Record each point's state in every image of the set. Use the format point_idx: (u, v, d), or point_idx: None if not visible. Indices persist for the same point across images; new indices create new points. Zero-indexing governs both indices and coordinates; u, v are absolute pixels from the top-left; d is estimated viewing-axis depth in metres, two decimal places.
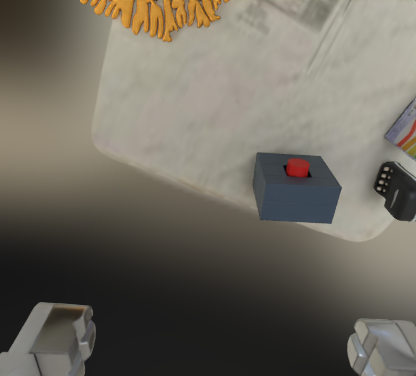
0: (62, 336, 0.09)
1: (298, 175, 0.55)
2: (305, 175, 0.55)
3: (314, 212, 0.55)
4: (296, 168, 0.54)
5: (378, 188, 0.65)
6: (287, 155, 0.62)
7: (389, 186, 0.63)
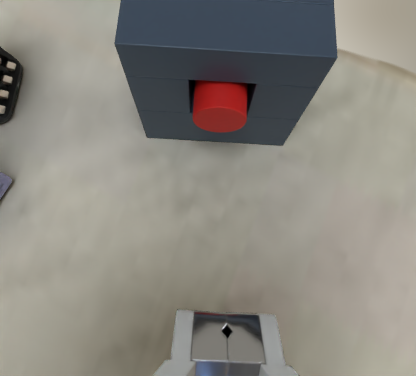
0: (216, 343, 0.09)
1: (224, 86, 0.21)
2: (204, 86, 0.21)
3: None
4: (233, 106, 0.21)
5: (12, 65, 0.29)
6: (219, 139, 0.29)
7: None
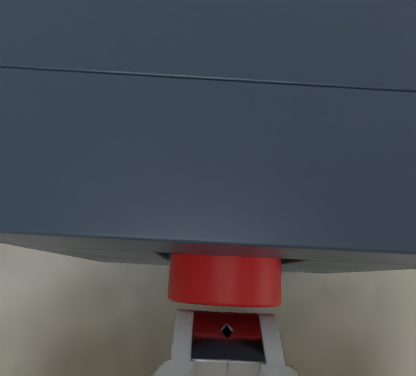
0: (216, 343, 0.09)
1: None
2: None
3: (130, 15, 0.07)
4: (256, 298, 0.09)
5: None
6: None
7: None
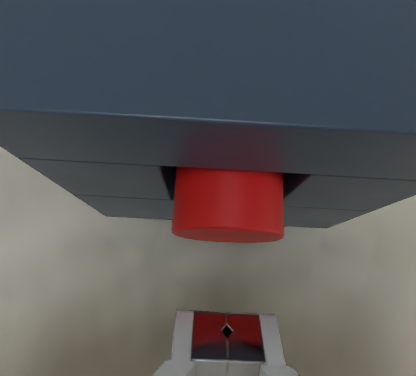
0: (216, 343, 0.09)
1: (240, 176, 0.09)
2: (195, 174, 0.10)
3: None
4: (259, 223, 0.09)
5: None
6: None
7: None
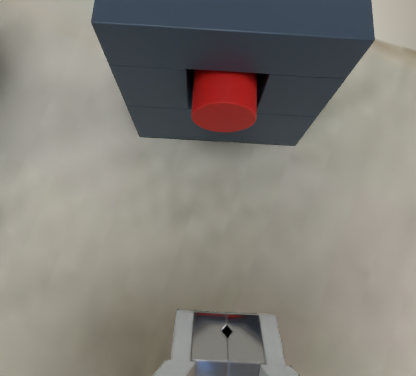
0: (216, 343, 0.09)
1: (230, 77, 0.17)
2: (205, 77, 0.17)
3: None
4: (241, 101, 0.17)
5: None
6: (223, 138, 0.25)
7: None
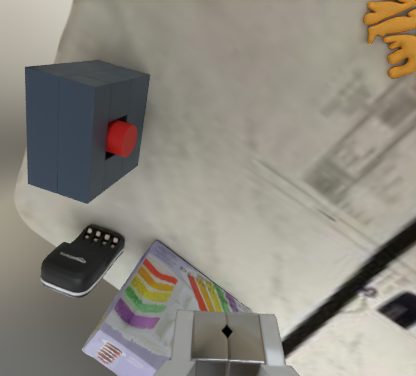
0: (216, 343, 0.09)
1: (109, 140, 0.34)
2: (108, 150, 0.35)
3: (44, 161, 0.33)
4: (121, 137, 0.34)
5: (90, 230, 0.50)
6: (141, 121, 0.42)
7: (92, 243, 0.49)
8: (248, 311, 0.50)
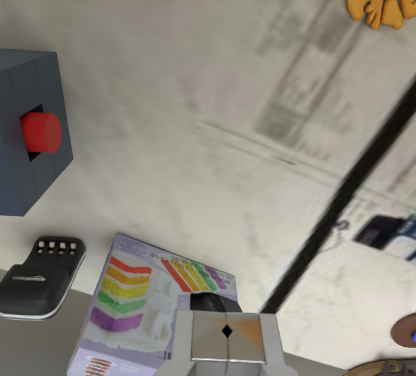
0: (216, 343, 0.09)
1: (27, 137, 0.29)
2: (31, 149, 0.30)
3: None
4: (41, 131, 0.29)
5: (41, 243, 0.45)
6: (62, 108, 0.36)
7: (48, 256, 0.44)
8: (231, 277, 0.48)
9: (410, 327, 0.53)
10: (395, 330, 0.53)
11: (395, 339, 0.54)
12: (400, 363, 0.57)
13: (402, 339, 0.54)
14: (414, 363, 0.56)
